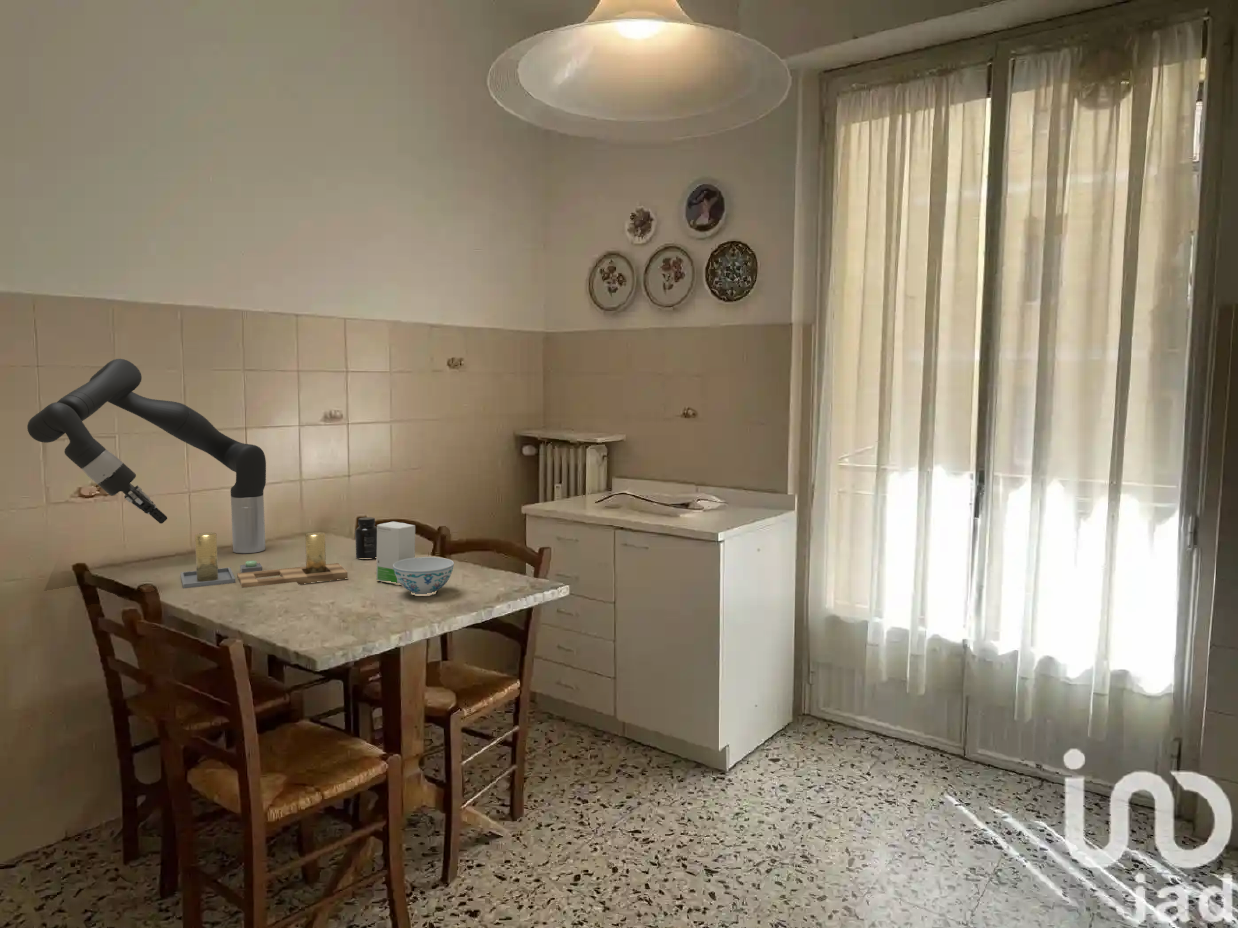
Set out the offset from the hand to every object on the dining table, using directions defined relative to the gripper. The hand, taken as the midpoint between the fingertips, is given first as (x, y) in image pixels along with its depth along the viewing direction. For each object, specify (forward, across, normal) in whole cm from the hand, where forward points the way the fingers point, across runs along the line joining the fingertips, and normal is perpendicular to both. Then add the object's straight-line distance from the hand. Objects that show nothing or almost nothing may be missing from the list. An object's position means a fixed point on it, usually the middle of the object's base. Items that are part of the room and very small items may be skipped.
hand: (164, 520), depth 208 cm
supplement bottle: (+49, -10, +29) cm, 57 cm away
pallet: (+32, +7, +10) cm, 35 cm away
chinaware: (+50, +37, +30) cm, 69 cm away
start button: (+25, -4, +6) cm, 26 cm away
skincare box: (+48, +22, +28) cm, 60 cm away
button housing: (+27, -4, +4) cm, 27 cm away
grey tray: (+19, -1, -4) cm, 20 cm away
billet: (+19, -1, -4) cm, 19 cm away
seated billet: (+36, +7, +15) cm, 40 cm away
